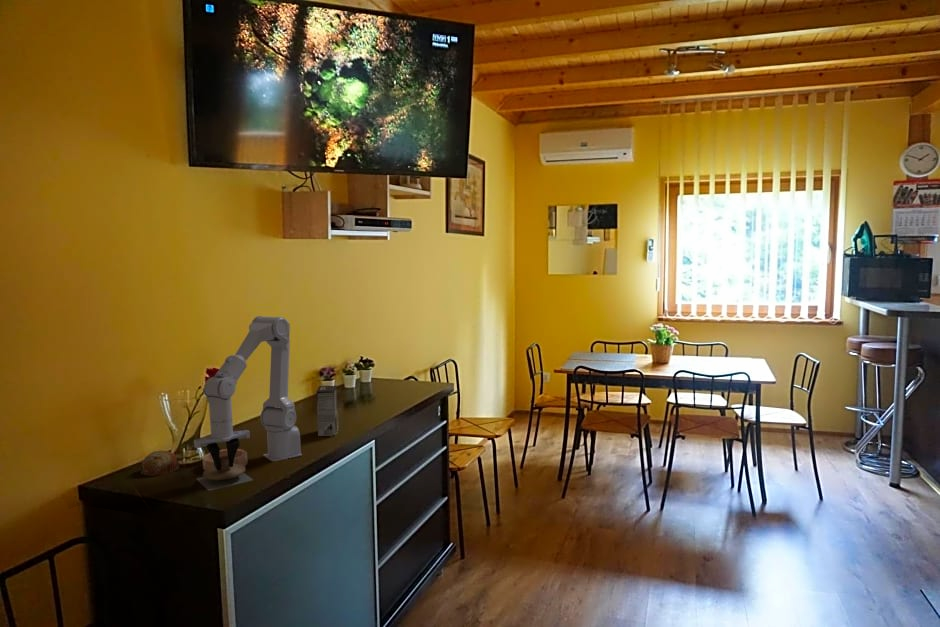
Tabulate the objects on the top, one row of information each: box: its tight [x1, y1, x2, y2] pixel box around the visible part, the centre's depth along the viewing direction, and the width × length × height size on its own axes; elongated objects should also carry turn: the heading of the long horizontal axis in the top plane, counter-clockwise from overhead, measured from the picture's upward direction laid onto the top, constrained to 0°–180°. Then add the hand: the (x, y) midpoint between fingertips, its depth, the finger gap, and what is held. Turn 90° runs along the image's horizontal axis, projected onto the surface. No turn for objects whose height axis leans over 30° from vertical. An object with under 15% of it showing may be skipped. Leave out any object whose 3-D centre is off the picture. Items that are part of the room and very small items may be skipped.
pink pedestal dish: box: [202, 456, 246, 480], centre depth 175 cm, size 11×11×4 cm
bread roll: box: [140, 449, 180, 477], centre depth 184 cm, size 10×10×8 cm
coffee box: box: [316, 385, 339, 436], centre depth 220 cm, size 9×6×16 cm
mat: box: [195, 472, 254, 492], centre depth 175 cm, size 12×12×1 cm
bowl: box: [202, 448, 248, 471], centre depth 187 cm, size 12×12×4 cm
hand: (224, 467), depth 175 cm, fingers closed on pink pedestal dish, 3 cm apart
